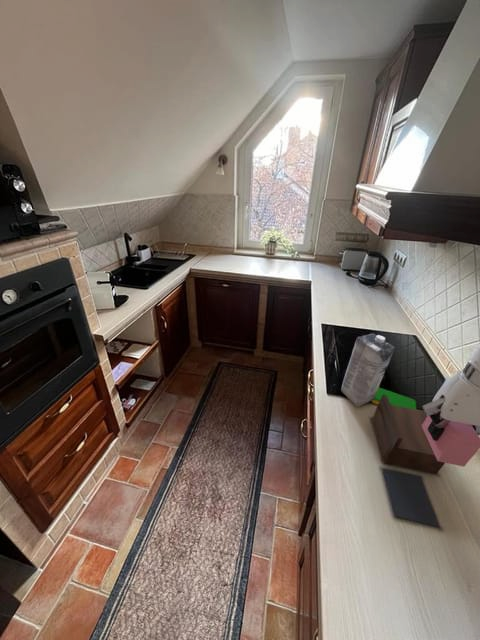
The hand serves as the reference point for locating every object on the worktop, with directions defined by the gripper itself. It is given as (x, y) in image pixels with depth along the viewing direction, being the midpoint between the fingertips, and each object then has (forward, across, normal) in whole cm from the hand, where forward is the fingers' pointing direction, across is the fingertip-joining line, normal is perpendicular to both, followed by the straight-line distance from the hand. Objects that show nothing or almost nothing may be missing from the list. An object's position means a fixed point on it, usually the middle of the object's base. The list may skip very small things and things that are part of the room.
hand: (446, 437), depth 56 cm
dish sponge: (+24, -5, -32) cm, 40 cm away
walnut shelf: (+24, -3, -15) cm, 28 cm away
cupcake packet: (+3, 0, 0) cm, 3 cm away
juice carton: (+24, +8, -32) cm, 41 cm away
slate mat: (+24, 0, +1) cm, 24 cm away
